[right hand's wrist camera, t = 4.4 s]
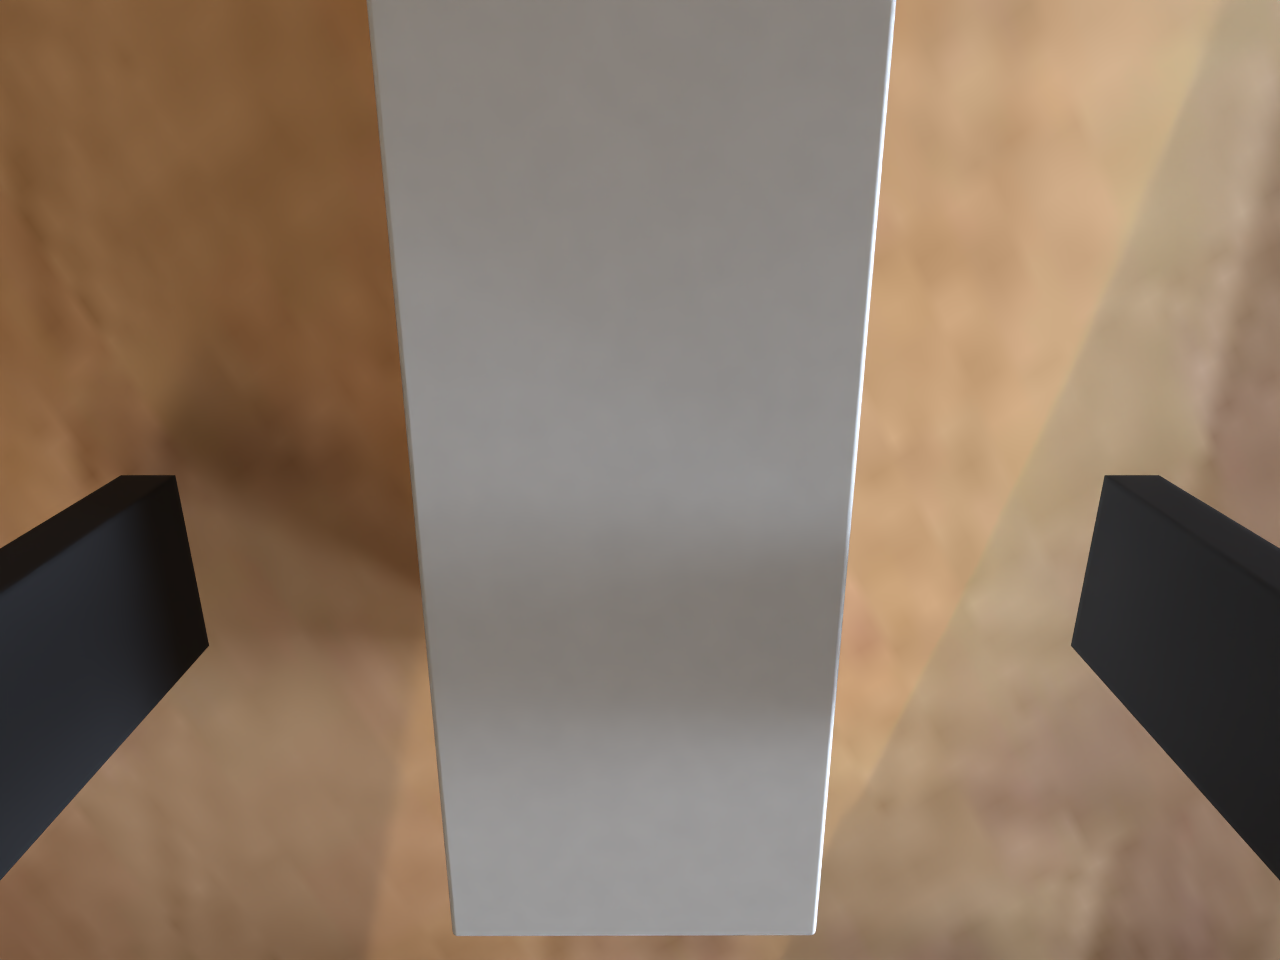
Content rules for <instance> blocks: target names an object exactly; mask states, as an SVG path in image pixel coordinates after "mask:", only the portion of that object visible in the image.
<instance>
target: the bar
mask: <svg viewBox="0 0 1280 960" xmlns="http://www.w3.org/2000/svg"><path fill="white" fill-rule="evenodd" d="M895 8H896V0H367V9H368V20H369V31H370V42H371V53H372V64H373V74H374V85H375V96H376V107H377V118H378V129H379V139H380V150H381V161H382V172H383V183H384V194H385V204H386V215H387V226H388V237H389V248H390V259H391V269H392V280H393V291H394V302H395V313H396V324H397V334H398V345H399V356H400V367H401V378H402V389H403V399H404V410H405V421H406V432H407V443H408V454H409V464H410V475H411V486H412V497H413V508H414V519H415V529H416V540H417V551H418V562H419V573H420V584H421V594H422V605H423V616H424V627H425V638H426V649H427V659H428V670H429V681H430V692H431V703H432V714H433V724H434V735H435V746H436V757H437V768H438V779H439V789H440V800H441V811H442V822H443V833H444V844H445V854H446V865H447V876H448V887H449V898H450V909H451V919H452V930H453V934H454V935H456V936H631V935H813V934H814V933H815V930H816V921H817V910H818V898H819V886H820V875H821V863H822V852H823V840H824V829H825V817H826V806H827V794H828V782H829V771H830V759H831V748H832V736H833V725H834V713H835V701H836V690H837V678H838V667H839V655H840V644H841V632H842V621H843V609H844V597H845V586H846V574H847V563H848V551H849V540H850V528H851V516H852V505H853V493H854V482H855V470H856V459H857V447H858V435H859V424H860V412H861V401H862V389H863V378H864V366H865V355H866V343H867V331H868V320H869V308H870V297H871V285H872V274H873V262H874V250H875V239H876V227H877V216H878V204H879V193H880V181H881V170H882V158H883V146H884V135H885V123H886V112H887V100H888V89H889V77H890V65H891V54H892V42H893V31H894V19H895Z"/></svg>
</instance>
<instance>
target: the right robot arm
mask: <svg viewBox="0 0 1280 960" xmlns="http://www.w3.org/2000/svg"><path fill="white" fill-rule="evenodd" d="M208 646H209V643H208V638H207V633H206V628H205V623H204V618H203V613H202V608H201V603H200V598H199V593H198V588H197V583H196V578H195V572H194V567H193V562H192V557H191V552H190V547H189V542H188V537H187V532H186V527H185V522H184V517H183V512H182V507H181V502H180V497H179V492H178V487H177V482H176V477H175V475H121V476H119V477H118V478H116V479H114V480H113V481H111V482H109V483H108V484H106V485H104V486H103V487H101V488H99V489H98V490H96V491H94V492H93V493H91V494H90V495H88V496H86V497H85V498H83V499H81V500H80V501H78V502H76V503H75V504H73V505H71V506H70V507H68V508H66V509H65V510H63V511H61V512H60V513H58V514H57V515H55V516H53V517H52V518H50V519H48V520H47V521H45V522H43V523H42V524H40V525H38V526H37V527H35V528H33V529H32V530H30V531H28V532H27V533H25V534H24V535H22V536H20V537H19V538H17V539H15V540H14V541H12V542H10V543H9V544H7V545H5V546H4V547H2V548H0V880H1V879H2V878H3V877H4V876H5V874H6V873H7V872H8V871H9V870H10V869H11V868H12V867H13V865H14V864H15V863H16V862H17V861H18V860H19V859H20V858H21V856H22V855H23V854H24V853H25V852H26V851H27V850H28V849H29V847H30V846H31V845H32V844H33V843H34V842H35V841H36V840H37V838H38V837H39V836H40V835H41V834H42V833H43V832H44V831H45V829H46V828H47V827H48V826H49V825H50V824H51V823H52V822H53V820H54V819H55V818H56V817H57V816H58V815H59V814H60V813H61V811H62V810H63V809H64V808H65V807H66V806H67V805H68V804H69V802H70V801H71V800H72V799H73V798H74V797H75V796H76V795H77V793H78V792H79V791H80V790H81V789H82V788H83V787H84V786H85V784H86V783H87V782H88V781H89V780H90V779H91V778H92V777H93V775H94V774H95V773H96V772H97V771H98V770H99V769H100V768H101V766H102V765H103V764H104V763H105V762H106V761H107V760H108V759H109V757H110V756H111V755H112V754H113V753H114V752H115V751H116V750H117V748H118V747H119V746H120V745H121V744H122V743H123V742H124V741H125V739H126V738H127V737H128V736H129V735H130V734H131V733H132V732H133V730H134V729H135V728H136V727H137V726H138V725H139V724H140V723H141V722H142V720H143V719H144V718H145V717H146V716H147V715H148V714H149V713H150V711H151V710H152V709H153V708H154V707H155V706H156V705H157V704H158V702H159V701H160V700H161V699H162V698H163V697H164V696H165V695H166V693H167V692H168V691H169V690H170V689H171V688H172V687H173V686H174V684H175V683H176V682H177V681H178V680H179V679H180V678H181V677H182V675H183V674H184V673H185V672H186V671H187V670H188V669H189V668H190V666H191V665H192V664H193V663H194V662H195V661H196V660H197V659H198V657H199V656H200V655H201V654H202V653H203V652H204V651H205V650H206V648H207V647H208ZM1071 646H1072V647H1073V648H1074V650H1075V651H1076V652H1077V653H1078V654H1079V655H1080V656H1081V657H1082V659H1083V660H1084V661H1085V662H1086V663H1087V664H1088V665H1089V666H1090V668H1091V669H1092V670H1093V671H1094V672H1095V673H1096V674H1097V675H1098V677H1099V678H1100V679H1101V680H1102V681H1103V682H1104V683H1105V684H1106V686H1107V687H1108V688H1109V689H1110V690H1111V691H1112V692H1113V693H1114V695H1115V696H1116V697H1117V698H1118V699H1119V700H1120V701H1121V702H1122V704H1123V705H1124V706H1125V707H1126V708H1127V709H1128V710H1129V711H1130V713H1131V714H1132V715H1133V716H1134V717H1135V718H1136V719H1137V720H1138V722H1139V723H1140V724H1141V725H1142V726H1143V727H1144V728H1145V729H1146V730H1147V732H1148V733H1149V734H1150V735H1151V736H1152V737H1153V738H1154V739H1155V741H1156V742H1157V743H1158V744H1159V745H1160V746H1161V747H1162V748H1163V750H1164V751H1165V752H1166V753H1167V754H1168V755H1169V756H1170V757H1171V759H1172V760H1173V761H1174V762H1175V763H1176V764H1177V765H1178V766H1179V768H1180V769H1181V770H1182V771H1183V772H1184V773H1185V774H1186V775H1187V777H1188V778H1189V779H1190V780H1191V781H1192V782H1193V783H1194V784H1195V786H1196V787H1197V788H1198V789H1199V790H1200V791H1201V792H1202V793H1203V795H1204V796H1205V797H1206V798H1207V799H1208V800H1209V801H1210V802H1211V804H1212V805H1213V806H1214V807H1215V808H1216V809H1217V810H1218V811H1219V813H1220V814H1221V815H1222V816H1223V817H1224V818H1225V819H1226V820H1227V822H1228V823H1229V824H1230V825H1231V826H1232V827H1233V828H1234V829H1235V831H1236V832H1237V833H1238V834H1239V835H1240V836H1241V837H1242V838H1243V840H1244V841H1245V842H1246V843H1247V844H1248V845H1249V846H1250V847H1251V849H1252V850H1253V851H1254V852H1255V853H1256V854H1257V855H1258V856H1259V858H1260V859H1261V860H1262V861H1263V862H1264V863H1265V864H1266V865H1267V867H1268V868H1269V869H1270V870H1271V871H1272V872H1273V873H1274V874H1275V876H1276V877H1277V878H1278V879H1279V880H1280V548H1278V547H1276V546H1275V545H1273V544H1271V543H1270V542H1268V541H1266V540H1265V539H1263V538H1261V537H1260V536H1258V535H1256V534H1255V533H1253V532H1252V531H1250V530H1248V529H1247V528H1245V527H1243V526H1242V525H1240V524H1238V523H1237V522H1235V521H1233V520H1232V519H1230V518H1228V517H1227V516H1225V515H1223V514H1222V513H1220V512H1219V511H1217V510H1215V509H1214V508H1212V507H1210V506H1209V505H1207V504H1205V503H1204V502H1202V501H1200V500H1199V499H1197V498H1195V497H1194V496H1192V495H1190V494H1189V493H1187V492H1186V491H1184V490H1182V489H1181V488H1179V487H1177V486H1176V485H1174V484H1172V483H1171V482H1169V481H1167V480H1166V479H1164V478H1162V477H1161V476H1159V475H1105V477H1104V482H1103V487H1102V492H1101V497H1100V502H1099V507H1098V512H1097V517H1096V522H1095V527H1094V532H1093V537H1092V542H1091V547H1090V552H1089V557H1088V562H1087V567H1086V572H1085V578H1084V583H1083V588H1082V593H1081V598H1080V603H1079V608H1078V613H1077V618H1076V623H1075V628H1074V633H1073V638H1072V643H1071Z"/></svg>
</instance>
